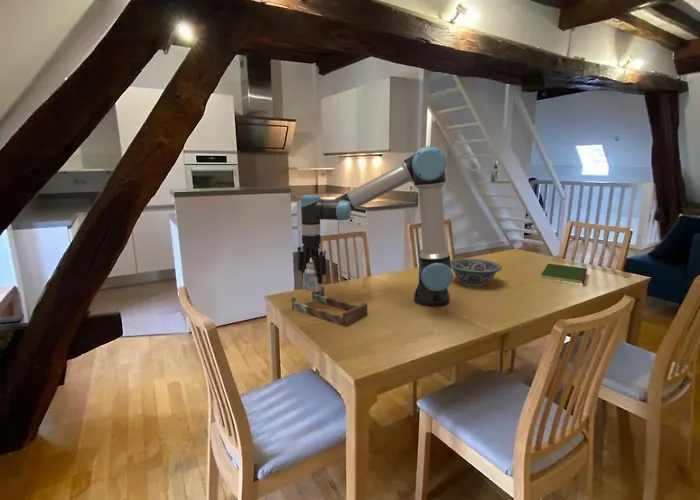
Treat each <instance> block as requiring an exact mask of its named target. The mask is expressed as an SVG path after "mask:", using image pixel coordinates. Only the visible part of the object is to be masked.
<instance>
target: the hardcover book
mask: <svg viewBox="0 0 700 500" xmlns="http://www.w3.org/2000/svg"><path fill="white" fill-rule="evenodd" d="M586 273H588V268H587V267H586V268H585V267H578V266H569V265H562V264H556V263H547V264H546V267H544V269H543V270H542V272H541V274H540V276H541V278H542V279H550V280H560V281H567V282H574V283H582V284H584V285H585V282H584V281H586V278H585V277H587V274H586Z"/></svg>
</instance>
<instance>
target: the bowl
mask: <svg viewBox="0 0 700 500" xmlns="http://www.w3.org/2000/svg"><path fill="white" fill-rule="evenodd" d="M450 261H451V269H452V271H453V274H454V275H455V276H456V278H457V279H458V280H459V281H461V283H462V284H463V285H464V284H465V286H467V285H470V286H469V287H473V286H479V287H483V286H482V285H484V284H486V283H489V282H491V280H492V279H493V278H494V277H495V275H496V274H497V272H499V271H500V272H501V271H502V269H503V267H502V265H501V264H499V263H497V262H495V261H491V260H487V259H482V258H481V259H480V258H458V259H457V258H456V259H452V260H450ZM484 286H485V285H484Z"/></svg>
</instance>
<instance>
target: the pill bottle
mask: <svg viewBox="0 0 700 500" xmlns="http://www.w3.org/2000/svg"><path fill="white" fill-rule="evenodd" d="M306 267H307V268H306V269H305V288H304V289H305V291H306V292H309V293H310V292H312V291H315V276H316V275H317V274H316V270H315V266H314V262H313V261H309V262H308V263H306ZM319 273H320V272H319Z"/></svg>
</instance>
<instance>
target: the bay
mask: <svg viewBox="0 0 700 500" xmlns="http://www.w3.org/2000/svg"><path fill="white" fill-rule="evenodd" d="M311 294H312V295H311V297H312V300H309V301H307V302H304V303H301V302H299V301H298V302H297V297H296V296H293V297H291V310H293V311H297V312H299V313H302V314H306V315H309V316H312V317H315V318H318V319H322V320H324V321H328V322H331V323H334V324H337V325H340V326H343V327H348V326H350V325H352V324H354V323H356V322H357V321H360V320H362V319H363V318H365V317H367V316H368V303H366V302H363V303H360V304H358V305H356V304H354V303H350V302H346V301H343V300H338V299H335V298H331V297H328V296H325V287H324V286H321V291H318V292H315V291H312V293H311ZM312 303H319V304H322V305H326V306H328V307H332V308H336V309H338V310H342V311H344V312H342V315H340V314H336V313H334V312H330V311H326V310H324V309H323V310H322V309H320V308H317V307H314V306H310V304H312Z"/></svg>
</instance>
